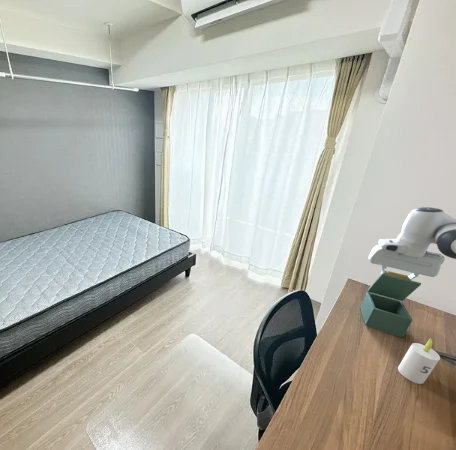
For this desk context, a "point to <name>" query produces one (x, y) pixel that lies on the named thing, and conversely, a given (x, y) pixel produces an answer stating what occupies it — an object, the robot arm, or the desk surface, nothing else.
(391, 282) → the box lid
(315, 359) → the desk surface
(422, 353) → the candle
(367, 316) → the box
